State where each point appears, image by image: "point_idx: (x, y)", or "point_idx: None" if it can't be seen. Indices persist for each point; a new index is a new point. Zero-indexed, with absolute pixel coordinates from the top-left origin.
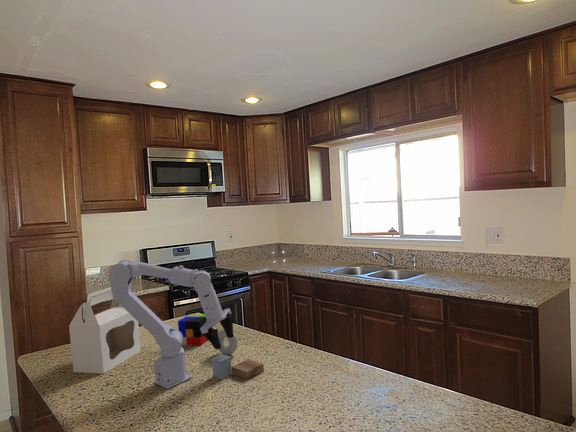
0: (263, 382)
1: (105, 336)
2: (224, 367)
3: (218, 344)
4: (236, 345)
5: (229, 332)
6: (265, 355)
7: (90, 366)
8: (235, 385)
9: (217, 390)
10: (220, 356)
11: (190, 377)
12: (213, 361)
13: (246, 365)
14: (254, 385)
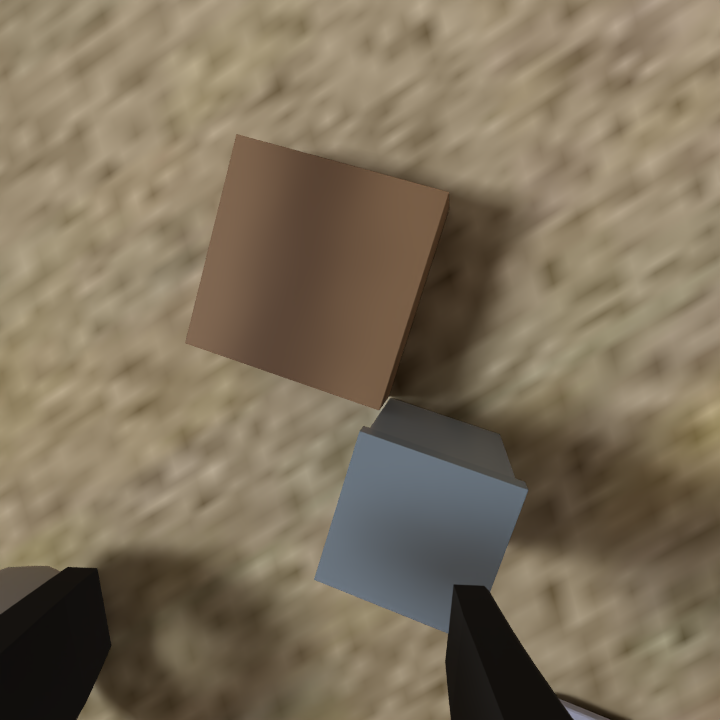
0: (456, 35)
1: None
2: (461, 446)
3: (525, 650)
4: (9, 576)
5: (35, 684)
6: (7, 311)
7: None
8: (574, 251)
9: (705, 356)
10: (381, 565)
11: (565, 706)
12: None
13: (315, 279)
14: (531, 81)
